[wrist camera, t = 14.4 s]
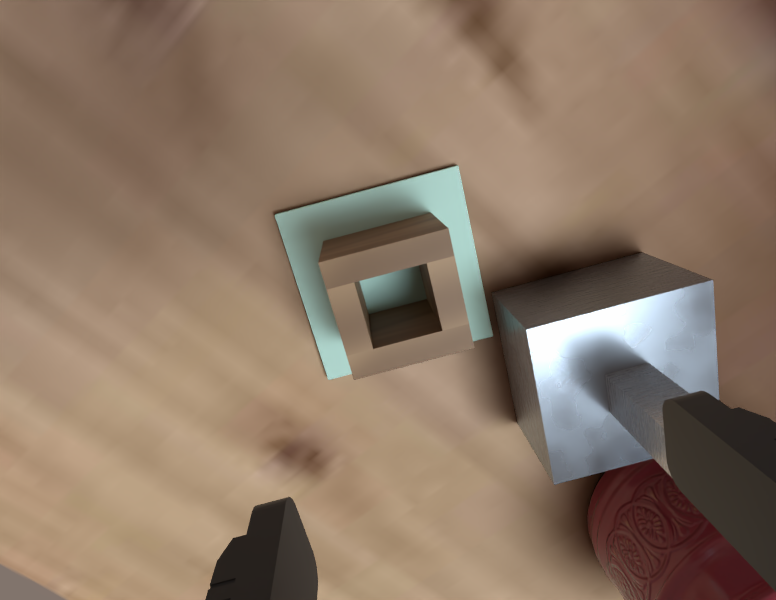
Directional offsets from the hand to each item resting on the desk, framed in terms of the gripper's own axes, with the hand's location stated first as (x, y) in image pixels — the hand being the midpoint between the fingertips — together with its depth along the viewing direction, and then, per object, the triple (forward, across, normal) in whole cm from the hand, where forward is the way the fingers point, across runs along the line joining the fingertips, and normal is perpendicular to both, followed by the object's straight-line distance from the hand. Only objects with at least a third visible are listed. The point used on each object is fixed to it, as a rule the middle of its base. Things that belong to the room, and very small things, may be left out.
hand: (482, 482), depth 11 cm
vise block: (+19, -10, +7) cm, 22 cm away
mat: (+19, +1, 0) cm, 19 cm away
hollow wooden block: (+18, 0, 0) cm, 18 cm away
